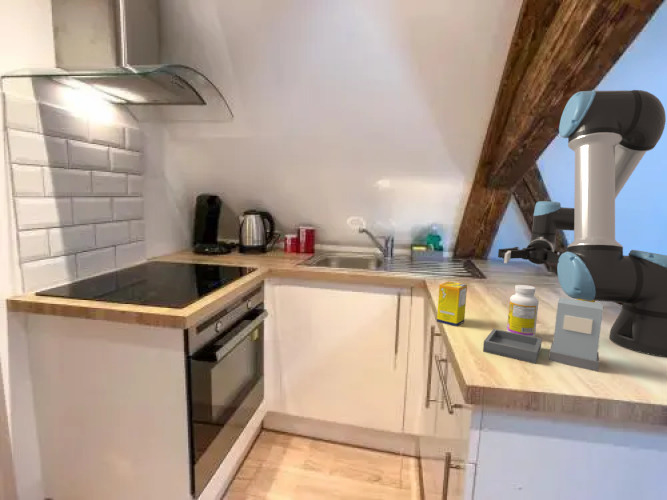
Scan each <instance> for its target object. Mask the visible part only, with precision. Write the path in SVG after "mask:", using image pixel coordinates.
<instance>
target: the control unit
mask: <svg viewBox="0 0 667 500" xmlns="http://www.w3.org/2000/svg"><path fill="white" fill-rule="evenodd" d="M603 312H604V307H603V303H602V302H601V303H600V302H596V301H595V302H588V301H582V300H576V299H574V298H569V297H568V298H566V297H560V296H559V298H558V302H557V307H556V317H555V326H554V332H553V333H554V334H553V342H551V344H550V348H549V352H548V353H549V355H548V361H550V362H554V363H559V364H562V365H568V366H572V367H577V368H581V369H585V370H589V369H590V370H589V371H593V370H595V371H594V372H599V369H600V368H599V366H600V356H599V351H598V350H599V343H600V337H601V327H602V322H603V321H602V320H603Z"/></svg>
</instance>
